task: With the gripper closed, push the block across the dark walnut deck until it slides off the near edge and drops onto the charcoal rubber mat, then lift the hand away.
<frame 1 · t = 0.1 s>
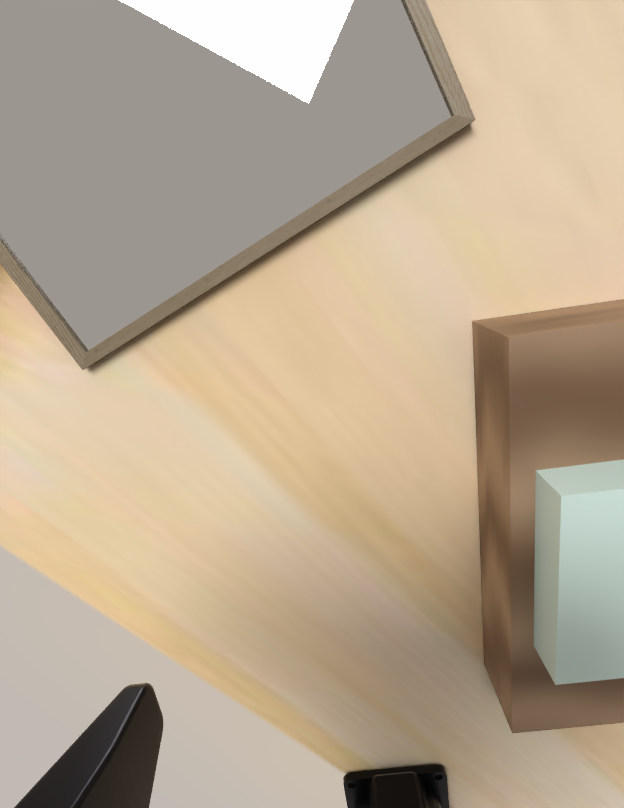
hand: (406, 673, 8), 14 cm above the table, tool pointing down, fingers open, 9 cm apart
block: (606, 556, 19), point 4 cm above the table, touching deck
deck: (599, 501, 23), on the table
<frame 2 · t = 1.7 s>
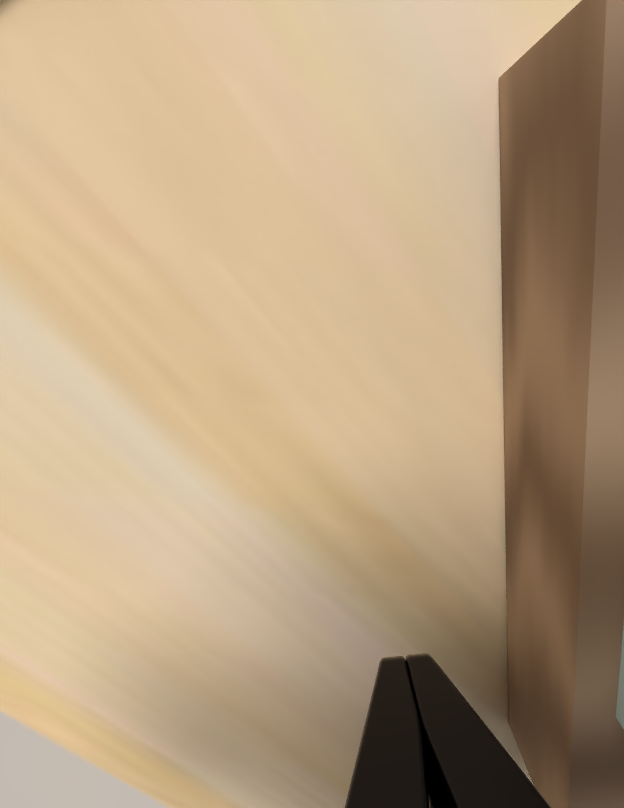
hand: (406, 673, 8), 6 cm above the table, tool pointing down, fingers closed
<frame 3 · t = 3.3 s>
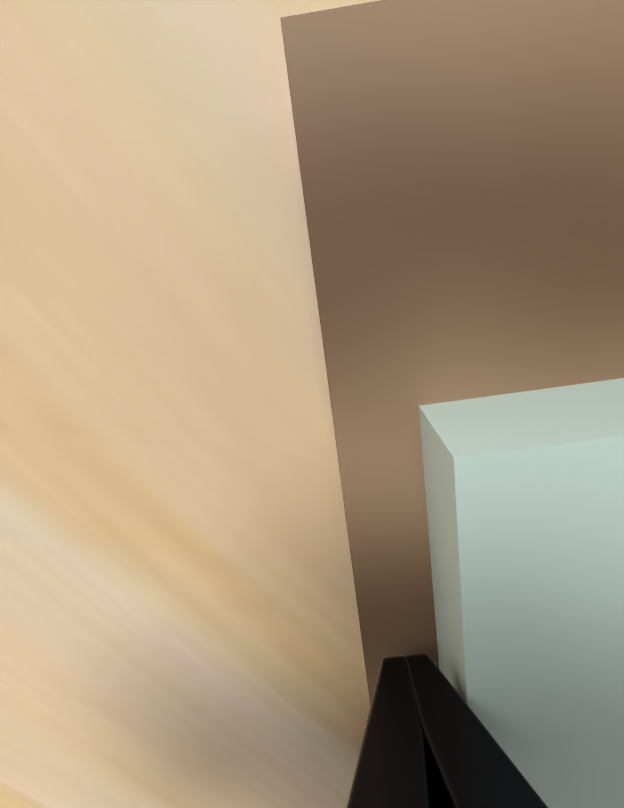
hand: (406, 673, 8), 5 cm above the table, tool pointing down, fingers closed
block: (593, 605, 9), point 4 cm above the table, touching deck, gripper
deck: (566, 493, 12), on the table
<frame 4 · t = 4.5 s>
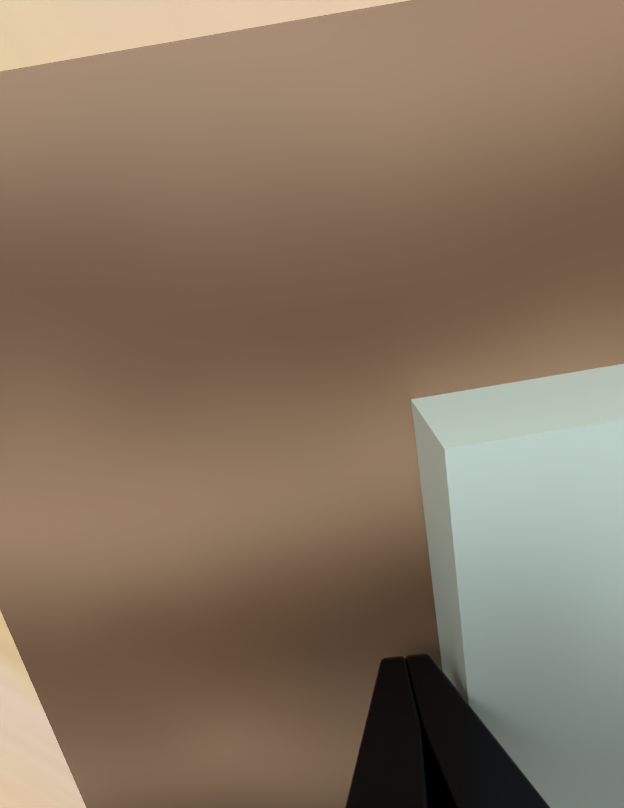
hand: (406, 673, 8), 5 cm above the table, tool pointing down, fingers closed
block: (593, 595, 9), point 4 cm above the table, touching deck, gripper
deck: (315, 522, 13), on the table
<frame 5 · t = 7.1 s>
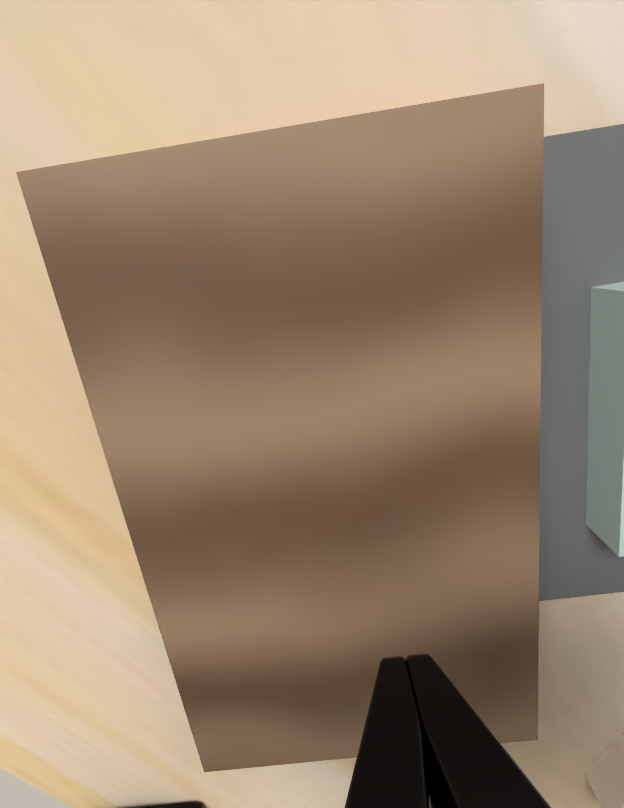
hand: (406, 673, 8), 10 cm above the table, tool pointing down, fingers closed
deck: (327, 457, 17), on the table
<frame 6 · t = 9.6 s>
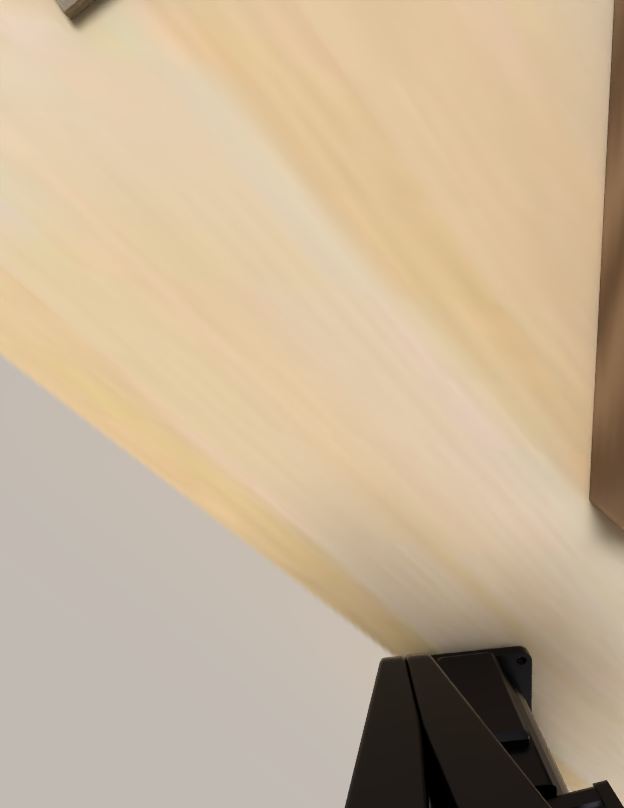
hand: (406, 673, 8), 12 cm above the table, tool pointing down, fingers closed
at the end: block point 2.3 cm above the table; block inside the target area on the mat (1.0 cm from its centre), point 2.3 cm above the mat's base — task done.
